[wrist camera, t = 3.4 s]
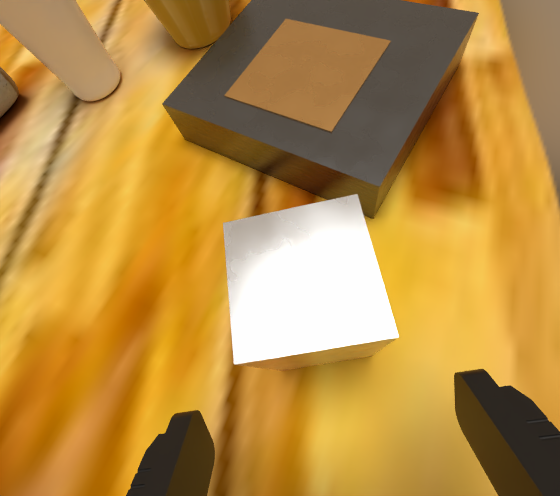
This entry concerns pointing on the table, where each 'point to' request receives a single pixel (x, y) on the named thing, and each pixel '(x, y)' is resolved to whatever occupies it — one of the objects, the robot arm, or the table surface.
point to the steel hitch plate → (323, 90)
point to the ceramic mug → (7, 92)
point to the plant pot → (193, 20)
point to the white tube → (63, 44)
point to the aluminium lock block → (305, 287)
